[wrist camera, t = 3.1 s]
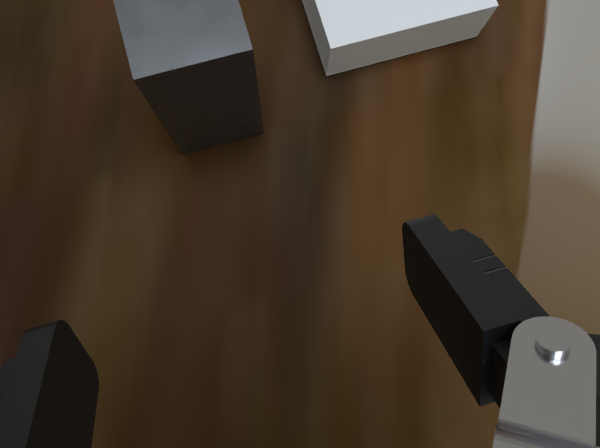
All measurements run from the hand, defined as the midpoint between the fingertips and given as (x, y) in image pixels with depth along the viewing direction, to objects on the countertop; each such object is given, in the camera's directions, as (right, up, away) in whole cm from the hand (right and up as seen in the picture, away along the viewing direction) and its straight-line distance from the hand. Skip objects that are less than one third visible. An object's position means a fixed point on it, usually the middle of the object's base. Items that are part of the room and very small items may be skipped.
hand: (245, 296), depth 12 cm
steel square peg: (-3, +8, +16) cm, 18 cm away
